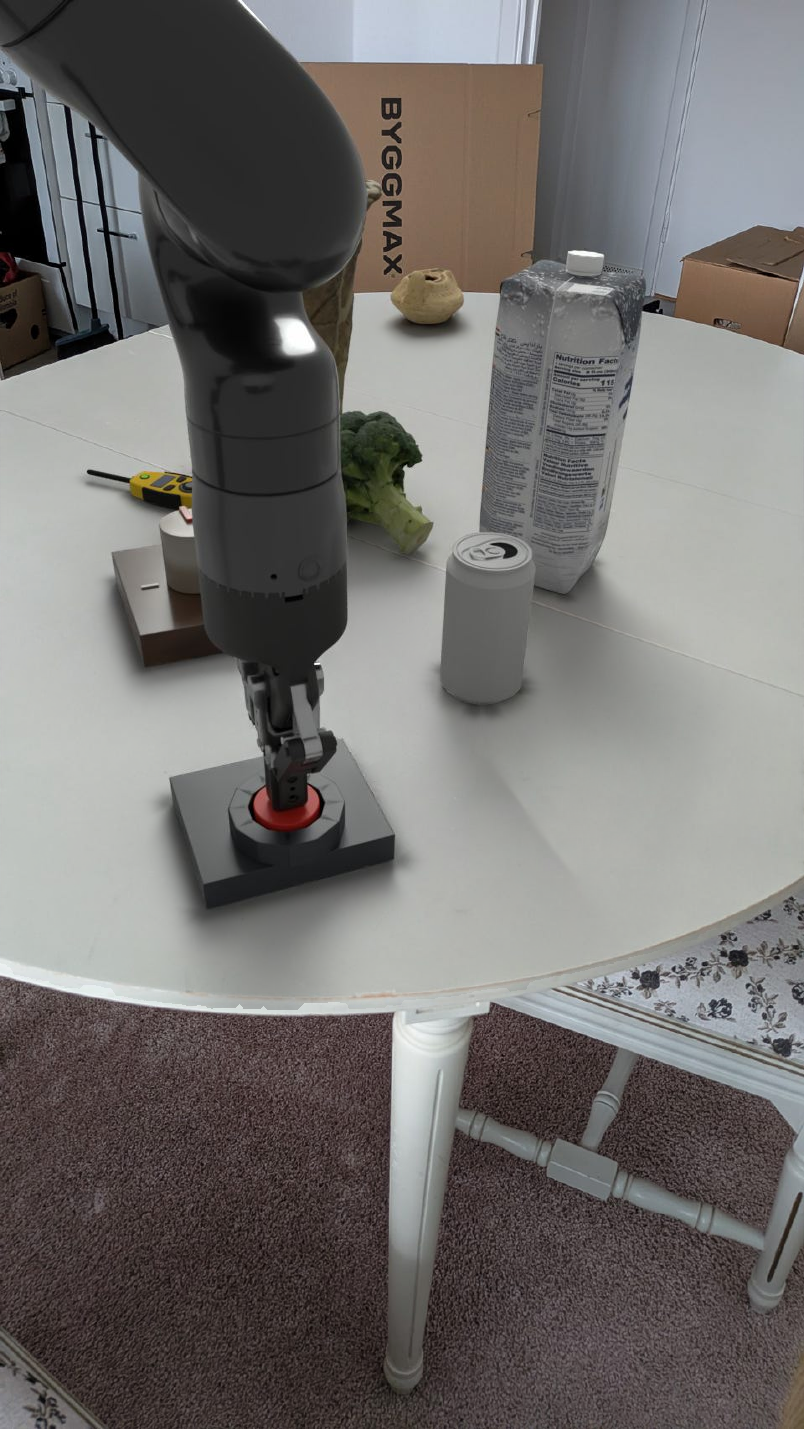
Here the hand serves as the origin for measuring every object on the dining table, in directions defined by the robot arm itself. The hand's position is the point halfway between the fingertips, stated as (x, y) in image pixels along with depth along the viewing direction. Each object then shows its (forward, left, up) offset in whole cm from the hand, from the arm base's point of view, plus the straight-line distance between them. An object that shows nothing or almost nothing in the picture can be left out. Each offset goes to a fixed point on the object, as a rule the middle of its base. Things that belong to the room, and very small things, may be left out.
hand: (287, 801), depth 61 cm
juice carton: (+32, +27, -4) cm, 42 cm away
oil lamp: (+52, +101, -5) cm, 114 cm away
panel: (+1, +30, -4) cm, 30 cm away
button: (0, 0, -2) cm, 2 cm away
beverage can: (+19, +12, -4) cm, 23 cm away
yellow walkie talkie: (+1, +54, -4) cm, 54 cm away
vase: (+20, +64, -4) cm, 67 cm away
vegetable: (+20, +39, -5) cm, 44 cm away
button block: (0, +2, -4) cm, 5 cm away
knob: (+1, +30, -1) cm, 30 cm away
